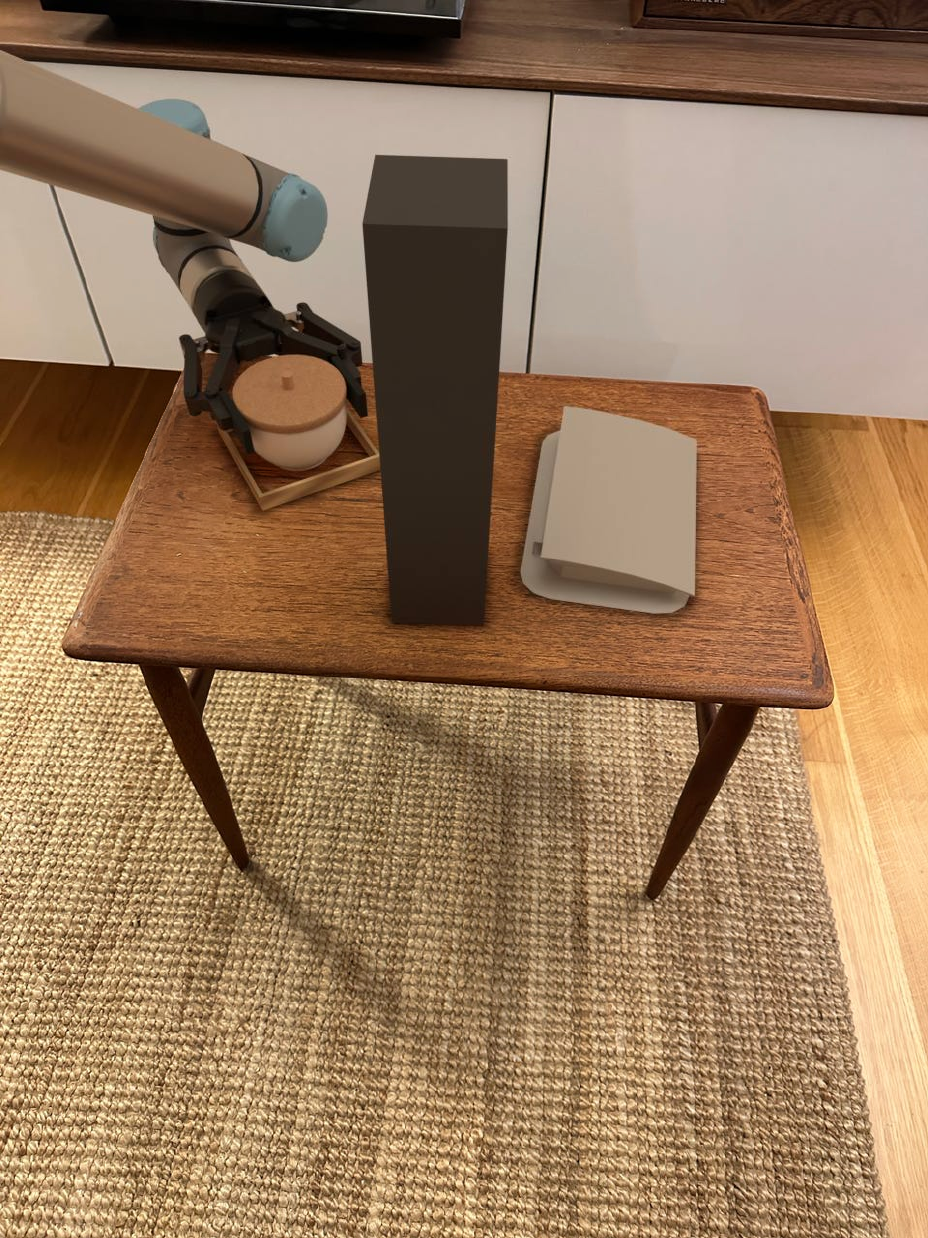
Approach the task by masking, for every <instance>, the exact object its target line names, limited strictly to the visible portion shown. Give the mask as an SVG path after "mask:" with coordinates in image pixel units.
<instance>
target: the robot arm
mask: <svg viewBox="0 0 928 1238" xmlns="http://www.w3.org/2000/svg"><path fill="white" fill-rule="evenodd" d="M0 171H3V172H6V173H10V174H13V175H16V176H20V177H23V178H25V179H29V180H33V181H37V182H40V183H42V184H46V185H50V186H54V187H56V188H60V189H63V190H66V191H70V192H74V193H77V194H80V195H84V196H86V197H90V198H93V199H97V200H101V201H103V202H107V203H110V204H114V205H117V206H120V207H123V208H126V209H131V210H134V211H136V212H140V213H144V214H148V215H151V216H152V219H153V225H154V226H153V230H152V242H153V246H154V249H155V251H156V253H157V256H158V260H159V262H160V265H161V266H162V268H164V270H165V272H166V273H167V275H169V277H170V278H171V280H172V281H173V283H174V285H175V286H176V288H177V289H178V291H179V293H180V295H182V297H183V299H184V301H185V302H186V304H187V306H188V307H189V309H190V311H191V312H192V314H193V316H194V318H195V319H196V321H197V323H198V324H199V326H200V328H201V329H202V331H203V333H204V336H200V337H197V338H193V337H192V336H191V335H190V334H186V333H185V334H182V335H180V336H179V338H178V340H179V344H180V348H181V352H182V355H183V359H184V360H183V389H182V390H183V391H182V392H183V396H184V402H185V404H186V407H187V410H188V411H187V412H188V413H189V415H190V416H191V417H198V416H200V415H201V414H202V412H207V413H209V415H210V419H211V421H214V422H215V423H216V422H217V423H216V425H217V424H218V426H219V428H220V429H221V430H223V431H226V430H229V429H233V431H232V432H233V433H234V435H235V436H236V438H237V440H238V442H239V443H240V445H241V447H242V449H243V451H244V452H245V454H246V456H250V455H253V454H255V453H256V452H255V450H254V446H253V441H252V436H251V432H250V429H249V427H248V426H247V424H246V422H245V421H244V419H243V417H242V415H241V414H240V412H239V410H238V409H237V407H236V405H235V404H234V402H233V400H232V396H230V395H231V394H230V390H231V387H232V385H233V382H234V379H235V377H236V374H239V372H240V369H241V367H242V364H243V362H245V363H248V362H252V361H254V360H257V359H259V358H264V357H269V356H273V355H276V356H282V355H306V356H312V357H316V358H319V359H322V360H324V361H326V362H328V363H330V364H331V365H333V366H334V367H335V368H337V369H338V370H339V371H340V373H341V374H342V375H343V377H344V379H345V382H346V388H347V399H346V400H347V402H348V403H349V404H350V406H351V407H352V409H353V410H354V412H355V413H356V414H357V415H358V417H359V418H360V419H363V418H366V417H369V414H368V402H367V401H368V400H367V392H366V391H365V390H364V389H363V383H362V372H361V371H360V370H359V369H358V368H359V367H361V366H362V365H363V352H362V343H361V341H360V340H359V339H357V338H356V337H354V336H352V335H351V334H349V333H348V332H346V331H344V330H342V329H341V328H339V327H338V326H336V325H334V324H333V323H331V322H329V321H328V320H326V319H324V318H323V317H321V316H319V315H318V314H316V313H314V311H313V310H312V308H311V307H310V305H309V304H308V303H307V302H304V301H302V302H298V303H297V304H296V305H295V306H296V310H295V311H292V312H288V313H284V312H282V311H281V310H278V309H276V308H275V307H274V306H273V303H272V302H271V301H270V298H269V297H268V296H267V294H266V293H265V292H264V290H263V289H262V288H261V286H260V285H259V284H258V282H257V280H256V278H255V277H254V276H253V274H252V272H251V271H250V270H249V269H248V267H246V265H245V263H244V262H243V260H242V259H241V258H240V257H239V255H238V254H237V252H236V251H235V249H234V247H233V245H232V243H231V240H232V241H235V242H238V243H242V244H245V245H248V246H251V247H254V248H256V249H259V250H261V251H263V252H265V253H266V254H267V255H269V256H270V257H273V258H279V259H282V260H284V261H287V262H289V263H298V262H302V261H305V260H307V259H308V258H310V257H311V256H312V255H313V254H314V253H315V252H316V251H317V250H318V248H319V247H320V245H321V244H322V242H323V239H324V234H325V233H326V228H327V226H328V219H329V218H328V217H329V216H328V215H329V214H328V206H327V202H326V199H325V196H324V195H323V193H322V192H321V190H320V189H319V188H318V187H317V186H316V185H314V184H312V183H310V182H308V181H306V180H305V179H303V178H301V176H299V175H297V174H294V173H290V172H287V171H285V170H283V169H280V168H278V167H276V166H273V165H270V164H268V163H266V162H264V161H261V160H259V159H257V158H255V157H252V156H249V155H247V154H245V153H242V152H240V151H238V150H236V149H234V148H231V147H229V146H227V145H224V144H223V143H220V142H217V141H215V140H213V139H212V138H211V128H210V127H209V124H208V121H207V117H206V115H205V113H204V112H203V110H202V109H201V107H200V106H199V105H198V104H196V103H195V102H193V101H190V100H185V99H180V98H165V99H157V100H153V101H150V102H148V103H146V104H144V105H141V106H140V107H138V108H137V107H135V106H132V105H130V104H128V103H125V102H124V101H121V100H118V99H116V98H114V97H111V96H109V95H107V94H104V93H102V92H100V91H97V90H96V89H93V88H91V87H88V86H86V85H84V84H80V83H79V82H76V81H74V80H72V79H69V78H67V77H65V76H62V75H61V74H57V73H55V72H53V71H51V70H48V69H46V68H43V67H41V66H39V65H36V64H34V63H32V62H30V61H27V60H25V59H22V58H20V57H17V56H16V55H13V54H10V53H9V52H7V51H4V50H1V49H0ZM293 328H294V329H293ZM208 350H209V351H210V352H212V353H215V354H217V356H216V358H215V362H214V365H213V367H212V370H211V372H210V374H209V377H208V379H207V382H206V385H205V387H204V390H203V367H202V363H204V362H205V357H206V355H207V354H206V353H207V351H208Z"/></svg>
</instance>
